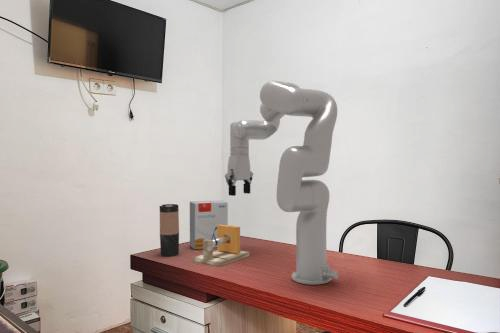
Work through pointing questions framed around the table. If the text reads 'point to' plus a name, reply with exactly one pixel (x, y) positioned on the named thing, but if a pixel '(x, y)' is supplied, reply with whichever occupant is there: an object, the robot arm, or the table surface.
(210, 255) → the pipe stand
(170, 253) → the travel mug
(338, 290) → the table surface
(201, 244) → the hard drive box
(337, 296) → the table surface
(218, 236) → the collar
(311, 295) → the table surface
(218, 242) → the pipe
